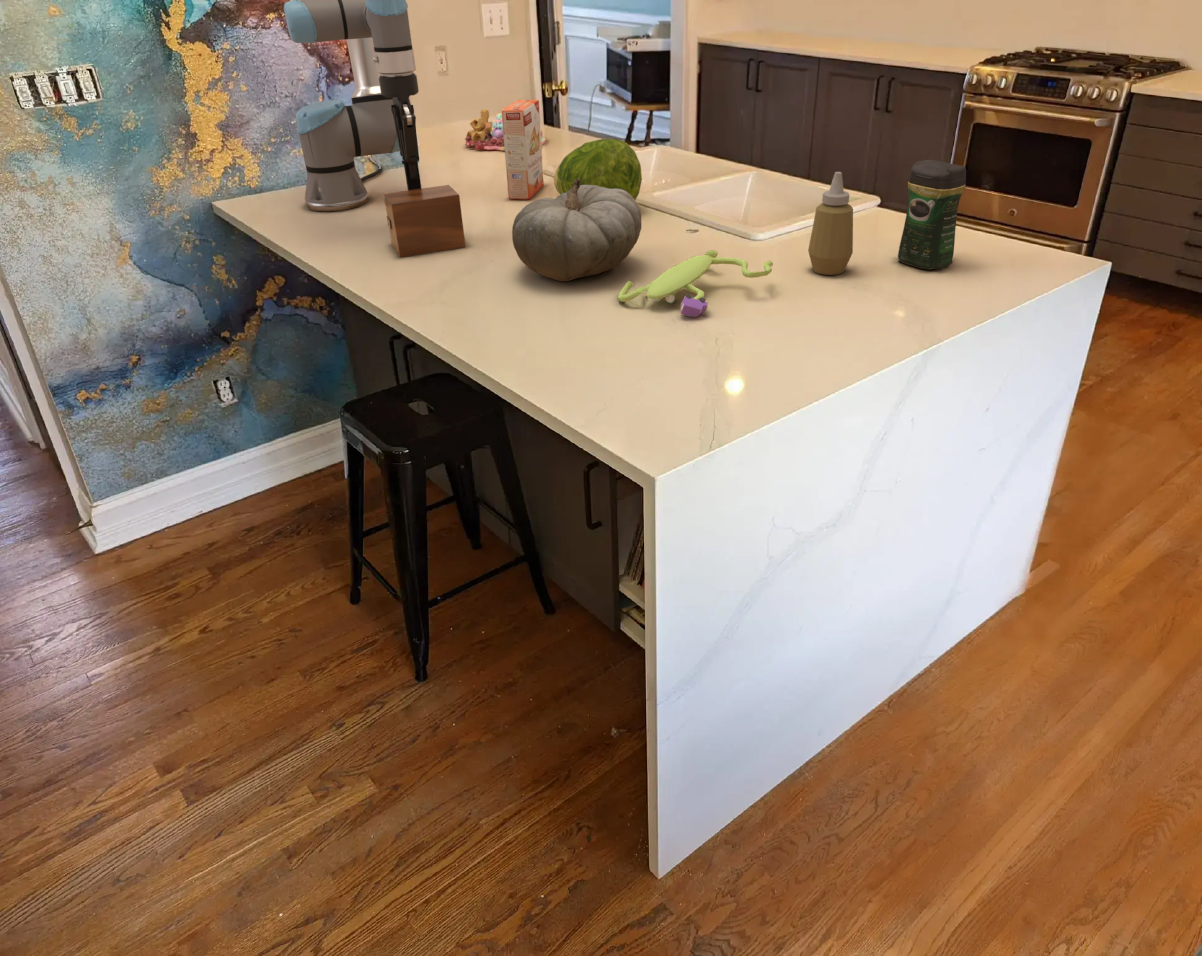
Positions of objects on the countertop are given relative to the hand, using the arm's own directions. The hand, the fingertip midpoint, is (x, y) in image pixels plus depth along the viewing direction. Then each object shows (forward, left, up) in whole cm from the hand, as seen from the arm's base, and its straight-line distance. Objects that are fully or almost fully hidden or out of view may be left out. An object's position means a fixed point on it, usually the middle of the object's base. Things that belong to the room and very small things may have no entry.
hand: (415, 193), depth 190 cm
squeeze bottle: (+59, +65, -10) cm, 88 cm away
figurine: (+58, +38, -10) cm, 70 cm away
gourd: (+36, +23, -10) cm, 44 cm away
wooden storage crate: (+7, 0, -10) cm, 12 cm away
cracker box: (-24, +32, -10) cm, 41 cm away
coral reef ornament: (-83, +44, -10) cm, 94 cm away
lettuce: (-1, +41, -10) cm, 42 cm away
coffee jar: (+64, +83, -10) cm, 105 cm away
